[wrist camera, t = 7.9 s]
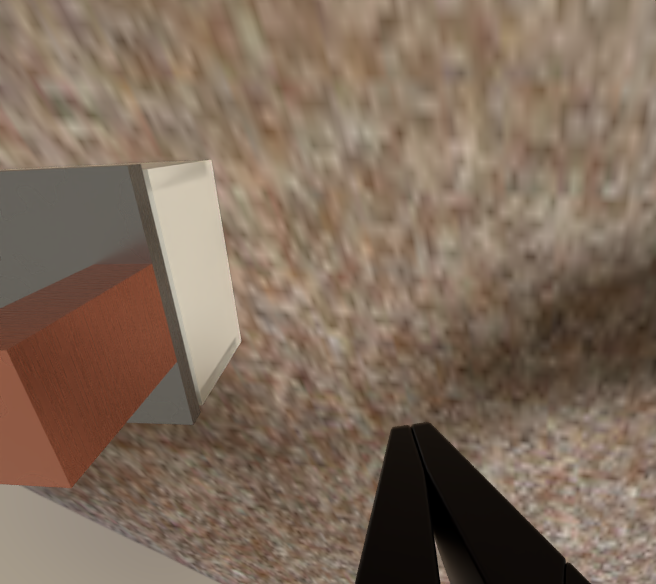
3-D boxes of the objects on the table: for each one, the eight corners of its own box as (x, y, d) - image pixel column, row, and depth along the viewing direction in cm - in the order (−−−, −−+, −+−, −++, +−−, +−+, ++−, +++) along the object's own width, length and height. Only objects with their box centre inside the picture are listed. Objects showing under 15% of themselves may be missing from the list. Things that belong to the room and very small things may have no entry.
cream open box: (211, 159, 19) (147, 169, 13) (241, 341, 23) (202, 405, 18) (5, 169, 20) (-132, 181, 14) (70, 339, 24) (-16, 398, 19)
